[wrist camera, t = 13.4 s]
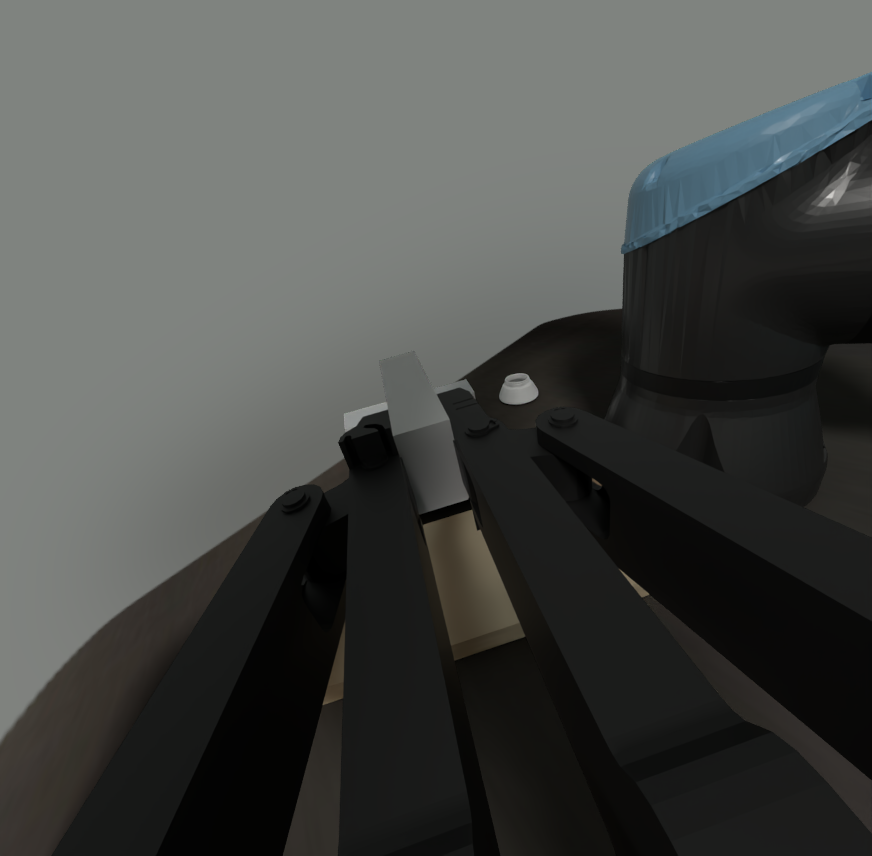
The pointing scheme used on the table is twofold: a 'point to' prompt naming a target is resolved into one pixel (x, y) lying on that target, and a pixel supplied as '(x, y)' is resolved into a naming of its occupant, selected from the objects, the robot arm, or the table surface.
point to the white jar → (518, 389)
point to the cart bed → (461, 594)
